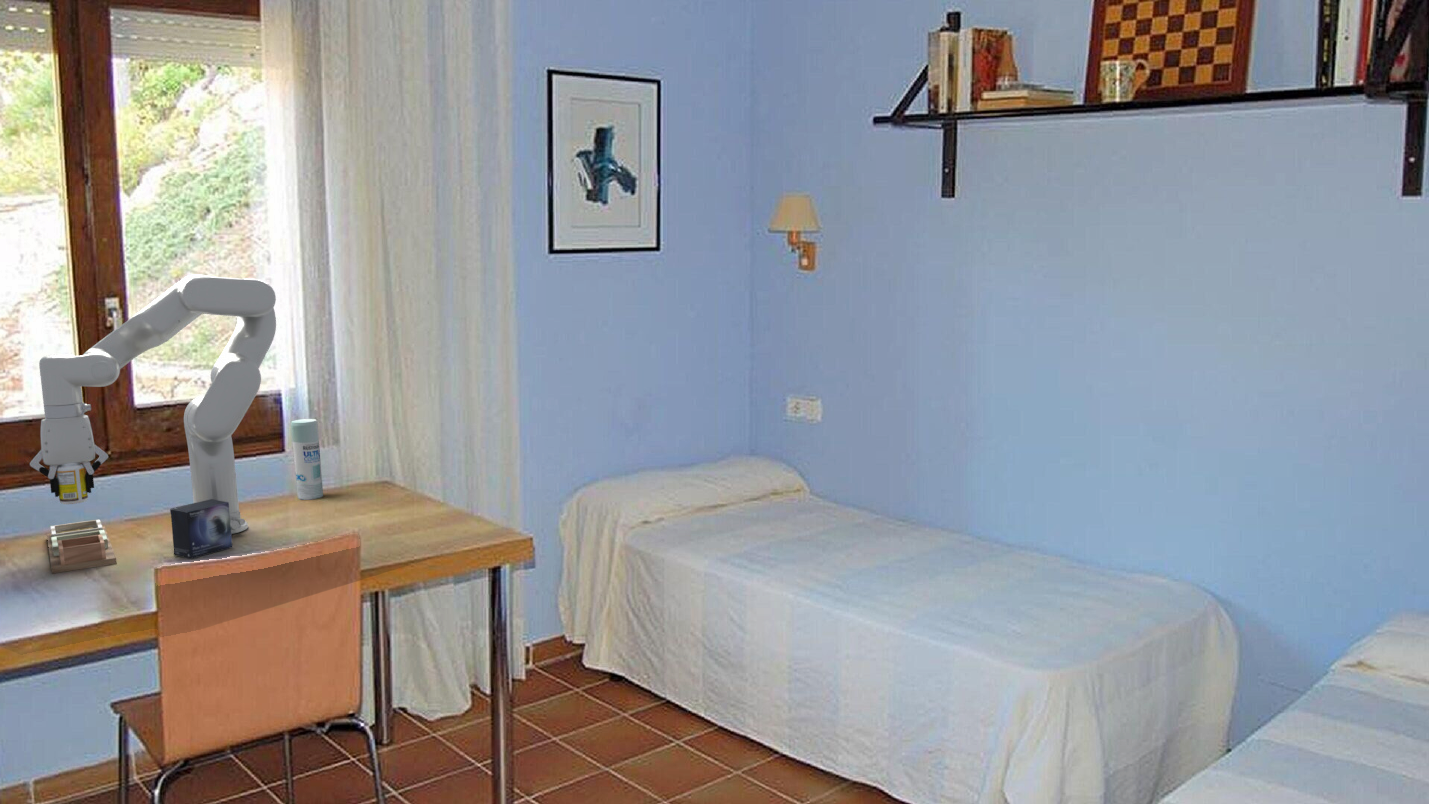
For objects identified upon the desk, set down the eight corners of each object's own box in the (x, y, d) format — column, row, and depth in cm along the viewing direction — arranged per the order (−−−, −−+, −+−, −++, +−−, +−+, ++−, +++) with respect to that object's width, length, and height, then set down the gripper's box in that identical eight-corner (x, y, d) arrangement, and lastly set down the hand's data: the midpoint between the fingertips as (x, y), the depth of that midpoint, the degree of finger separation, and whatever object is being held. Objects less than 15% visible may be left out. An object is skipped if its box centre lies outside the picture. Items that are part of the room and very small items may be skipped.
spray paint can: (308, 500, 310) (301, 423, 307) (292, 498, 314) (285, 422, 311) (329, 495, 316) (322, 419, 313) (312, 493, 319) (306, 418, 316)
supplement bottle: (81, 498, 269) (77, 452, 268) (92, 501, 266) (87, 455, 264) (55, 503, 265) (50, 456, 264) (65, 506, 261) (60, 459, 260)
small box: (191, 559, 258) (186, 511, 256) (172, 556, 261) (167, 508, 260) (234, 547, 267) (229, 500, 265) (215, 544, 270) (211, 498, 268)
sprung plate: (95, 536, 276) (94, 533, 275) (61, 541, 272) (60, 538, 272) (93, 530, 281) (92, 527, 281) (59, 535, 278) (59, 531, 278)
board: (116, 563, 257) (114, 541, 256) (52, 573, 251) (49, 551, 250) (105, 531, 286) (102, 511, 285) (47, 539, 280) (44, 519, 279)
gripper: (107, 406, 270) (115, 485, 272) (18, 413, 261) (27, 496, 264) (109, 409, 263) (118, 491, 266) (18, 418, 255) (28, 502, 258)
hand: (73, 493), depth 265 cm, fingers closed on supplement bottle, 5 cm apart
